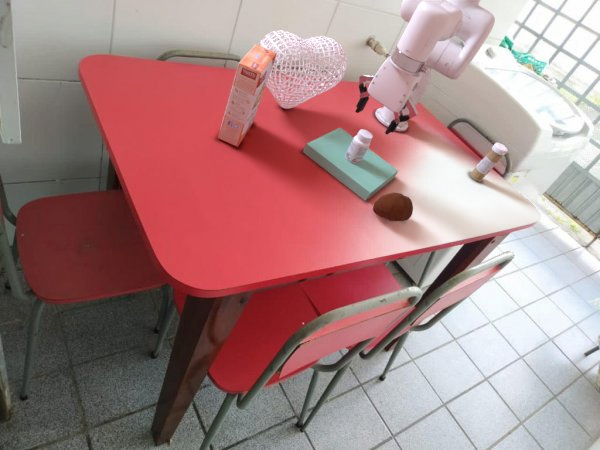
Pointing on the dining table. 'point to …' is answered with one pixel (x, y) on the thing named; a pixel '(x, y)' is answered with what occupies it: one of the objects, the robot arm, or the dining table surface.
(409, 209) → the potato
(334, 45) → the heart
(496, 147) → the sprinkles bottle
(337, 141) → the foam pad
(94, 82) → the dining table surface
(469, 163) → the dining table surface
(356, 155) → the pill bottle
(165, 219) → the dining table surface
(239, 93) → the cracker box
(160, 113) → the dining table surface
